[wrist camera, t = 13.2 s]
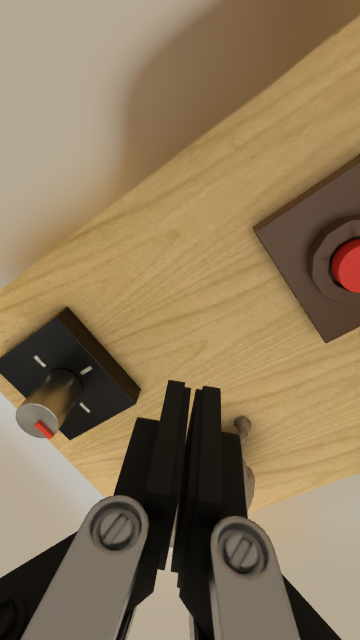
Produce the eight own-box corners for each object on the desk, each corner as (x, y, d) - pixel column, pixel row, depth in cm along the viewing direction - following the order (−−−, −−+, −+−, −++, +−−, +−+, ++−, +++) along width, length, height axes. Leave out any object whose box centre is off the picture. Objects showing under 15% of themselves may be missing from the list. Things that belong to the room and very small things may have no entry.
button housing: (252, 227, 28) (257, 236, 25) (368, 148, 25) (392, 146, 22) (319, 332, 32) (331, 354, 28) (429, 275, 28) (459, 291, 25)
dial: (37, 380, 35) (4, 417, 30) (62, 362, 33) (33, 398, 28) (63, 406, 36) (36, 447, 31) (89, 389, 35) (66, 429, 29)
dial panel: (5, 352, 37) (-10, 365, 35) (67, 306, 34) (55, 317, 31) (78, 425, 40) (69, 441, 38) (141, 389, 37) (135, 405, 35)
